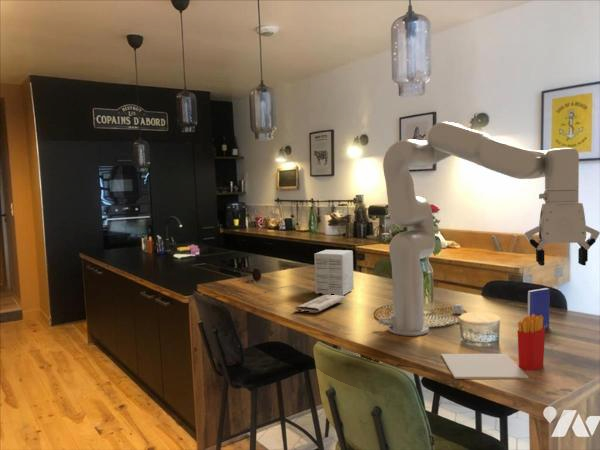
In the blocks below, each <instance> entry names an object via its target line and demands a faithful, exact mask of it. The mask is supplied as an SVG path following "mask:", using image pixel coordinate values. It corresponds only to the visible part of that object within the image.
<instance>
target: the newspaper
mask: <svg viewBox="0 0 600 450" xmlns="http://www.w3.org/2000/svg"><path fill="white" fill-rule="evenodd" d="M346 298H347V297H346V295H345V296H344V295H331V294H322V295H320V296H317V297H316V298H314V299H311V300H310V301H309V300H308V301H307V302H305V303H303V304H302V303H301V304H299V306H296V307H294V308H295V311H296V310H304V311H309V312H308V313H314V314H315V313H316V314H317V313H319V312H321V311H323V310H325V309H327V308H330V307H331V306H333V305H336V304H338V303H339V302H342V301H344V300H346Z"/></svg>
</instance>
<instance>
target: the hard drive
mask: <svg viewBox="0 0 600 450" xmlns="http://www.w3.org/2000/svg"><path fill="white" fill-rule="evenodd" d="M533 314H535V316H536V315H538V316H540V315H542V317H543V327H545V329H550V288H548V287H544V288H539V289H532V290H528V291H527V317H528V316H531V315H533Z"/></svg>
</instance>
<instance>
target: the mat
mask: <svg viewBox="0 0 600 450" xmlns="http://www.w3.org/2000/svg"><path fill="white" fill-rule="evenodd" d="M440 357H442V359H443V361H444V363H445V364H446V367H447V368H448V370H449V371H450V373H451V375H452V376H453V378H454V380H456V379H457V380H461V379H462V380H463V379H465V380H467V379H469V380H470V379H471V380H473V379H474V380H477V379H478V380H479V379H480V380H485V379H486V380H487V379H489V380H490V379H491V380H495V379H498V380H499V379H503V380H505V379H506V380H507V379H513V380H514V379H515V380H517V379H516V378H530V377H529V376H528V375H527V373H525V371H524V370H523V369H521V368H520V367H519V364H517V363H516V362H515V361H514V360H513V359H512V358H511V357H510V356H509V355H508V354H507V353H440Z"/></svg>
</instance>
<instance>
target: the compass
mask: <svg viewBox="0 0 600 450" xmlns="http://www.w3.org/2000/svg"><path fill="white" fill-rule="evenodd" d="M251 275H252V279H253V280H252V279H249V280H248V279H247V280H246V281H244V284H246V285H247V284H249V285H250V284H258V283H259V281H260V280H261V278H262V271H261V270H260V268H258V267H256V268H254V269H253V270H252V273H251Z"/></svg>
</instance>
